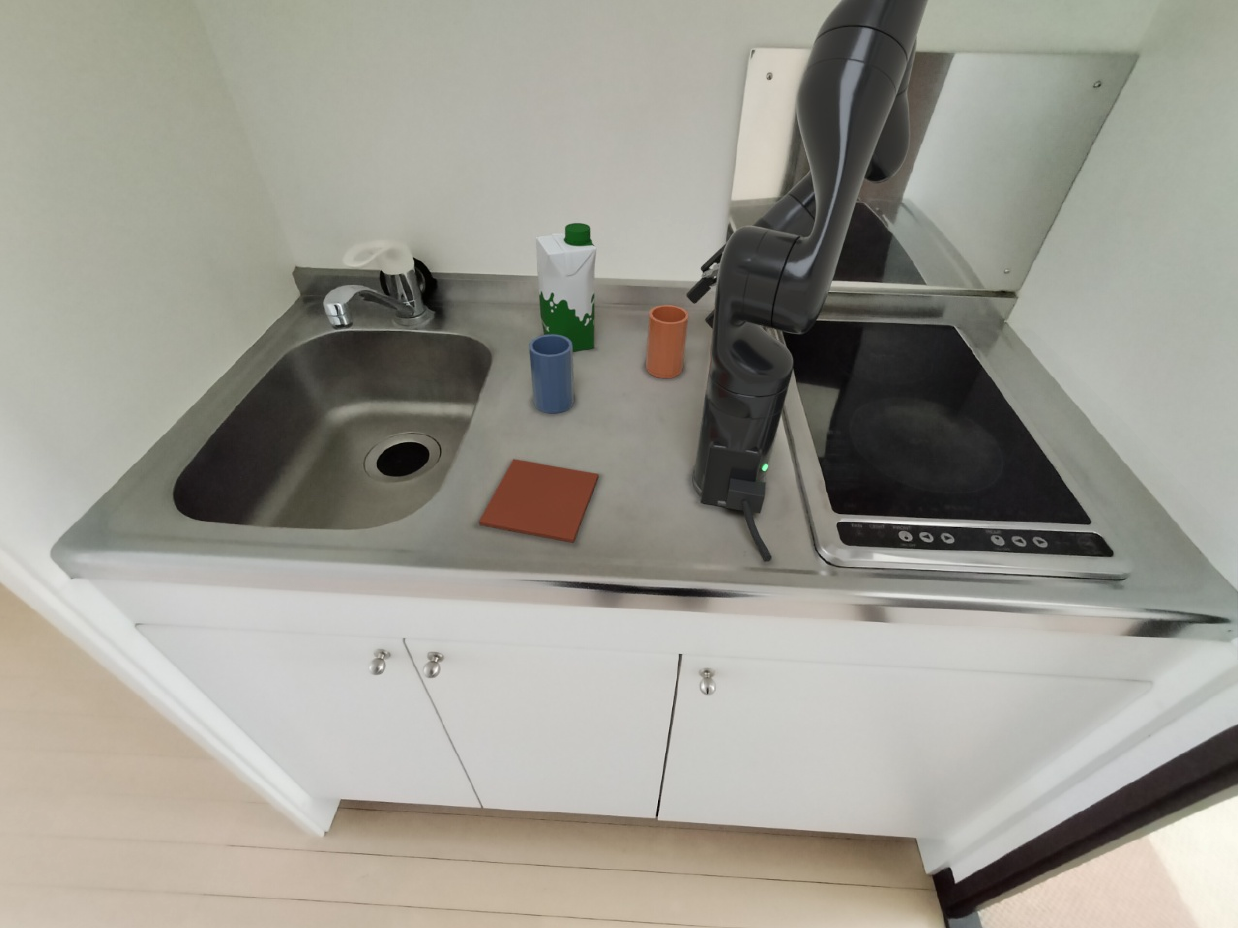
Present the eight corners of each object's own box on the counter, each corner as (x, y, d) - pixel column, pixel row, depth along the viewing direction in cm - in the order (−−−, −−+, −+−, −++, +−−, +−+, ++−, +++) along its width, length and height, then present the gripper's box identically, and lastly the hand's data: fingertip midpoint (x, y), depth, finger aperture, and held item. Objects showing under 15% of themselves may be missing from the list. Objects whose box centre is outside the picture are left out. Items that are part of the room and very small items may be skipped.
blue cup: (567, 416, 90) (565, 359, 84) (528, 410, 91) (522, 352, 85) (578, 393, 95) (577, 337, 88) (541, 387, 96) (537, 331, 89)
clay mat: (573, 542, 72) (573, 539, 71) (479, 524, 73) (478, 521, 73) (598, 477, 80) (598, 473, 80) (513, 462, 82) (513, 458, 82)
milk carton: (600, 350, 105) (601, 236, 92) (550, 358, 102) (543, 242, 89) (584, 326, 111) (583, 216, 98) (537, 334, 109) (529, 222, 95)
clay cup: (679, 380, 98) (685, 325, 92) (642, 375, 99) (645, 320, 93) (684, 361, 103) (691, 307, 96) (649, 356, 104) (653, 303, 97)
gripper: (746, 202, 93) (670, 278, 98) (788, 236, 83) (701, 319, 88) (770, 233, 98) (696, 305, 103) (813, 269, 88) (729, 347, 93)
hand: (698, 312), depth 96 cm, fingers open, 8 cm apart
